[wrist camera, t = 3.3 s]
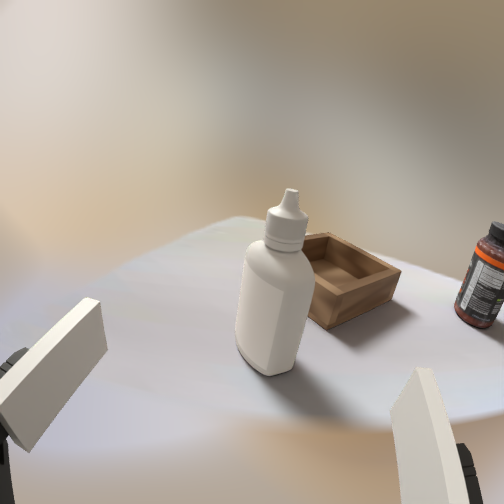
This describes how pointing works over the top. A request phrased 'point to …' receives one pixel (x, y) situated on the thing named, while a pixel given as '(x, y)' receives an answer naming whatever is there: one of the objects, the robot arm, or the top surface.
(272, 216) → the eye dropper bottle
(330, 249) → the holder
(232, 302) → the top surface
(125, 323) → the top surface
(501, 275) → the supplement bottle
